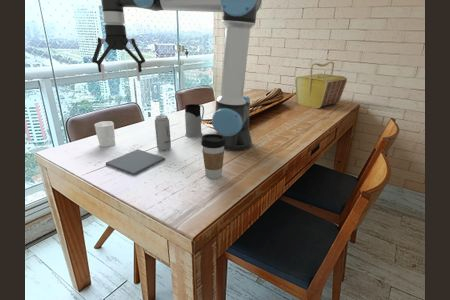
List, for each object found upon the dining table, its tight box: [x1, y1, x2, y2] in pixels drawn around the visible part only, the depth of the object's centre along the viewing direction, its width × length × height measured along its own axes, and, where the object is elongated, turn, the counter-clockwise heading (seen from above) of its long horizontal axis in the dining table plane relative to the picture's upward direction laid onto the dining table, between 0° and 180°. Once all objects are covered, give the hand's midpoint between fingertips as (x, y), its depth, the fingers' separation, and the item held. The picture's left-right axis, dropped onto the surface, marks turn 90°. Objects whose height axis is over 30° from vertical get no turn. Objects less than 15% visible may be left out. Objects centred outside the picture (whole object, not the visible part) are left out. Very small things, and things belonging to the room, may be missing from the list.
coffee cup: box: [200, 133, 225, 180], centre depth 96 cm, size 8×8×15 cm
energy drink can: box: [154, 114, 172, 152], centre depth 118 cm, size 6×6×15 cm
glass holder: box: [184, 103, 205, 139], centre depth 138 cm, size 9×14×15 cm, turn 152°
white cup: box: [94, 120, 116, 148], centre depth 124 cm, size 8×8×10 cm
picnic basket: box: [294, 61, 348, 110], centre depth 197 cm, size 29×26×30 cm
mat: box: [105, 148, 166, 176], centre depth 108 cm, size 16×16×1 cm
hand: (121, 80), depth 113 cm, fingers open, 13 cm apart
